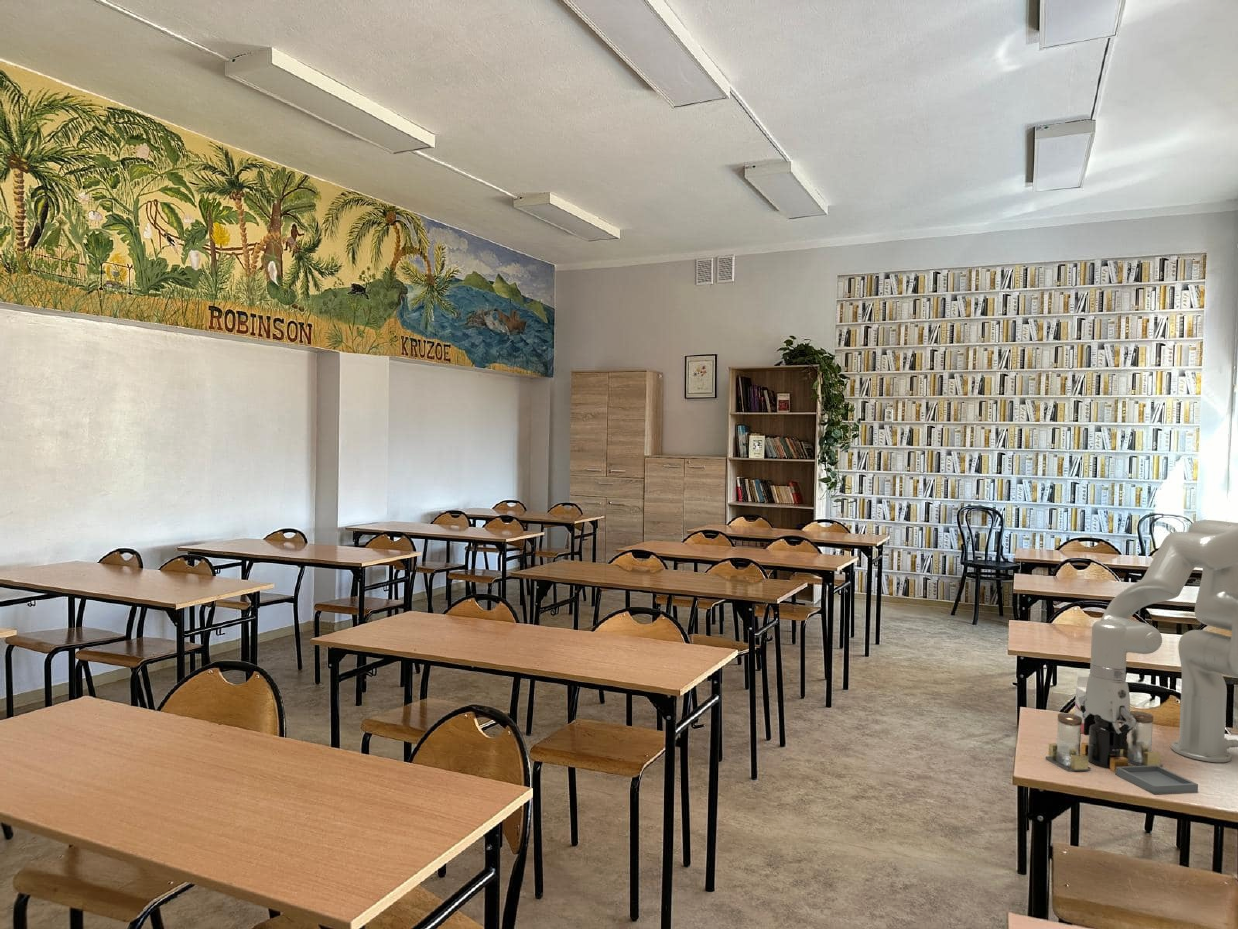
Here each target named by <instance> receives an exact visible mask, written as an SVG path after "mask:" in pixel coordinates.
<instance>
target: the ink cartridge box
mask: <svg viewBox="0 0 1238 929" xmlns="http://www.w3.org/2000/svg"><path fill="white" fill-rule="evenodd" d="M1088 677H1089V676H1084V675H1083V676H1082V675H1079V676H1077V681H1076V687H1075V699H1074V701H1075V702H1074V704H1075V705H1074V715H1077V716H1079V717H1081V718H1082V724H1081V734H1084V719H1085V718H1083V716H1082V714H1083V713H1082V711H1081V709H1080V703H1079V700H1078V698H1079V697H1082V696H1085V695H1086V687H1087V681H1088Z"/></svg>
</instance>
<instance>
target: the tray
mask: <svg viewBox="0 0 1238 929" xmlns="http://www.w3.org/2000/svg"><path fill="white" fill-rule="evenodd" d="M1114 774H1115V776H1118V777H1119V778H1122V779H1124V780H1125V781H1127V782H1130V783H1131V784H1132V785H1135V786H1137V787H1139V788H1141V789H1142V790H1145V791H1147V792H1148V793H1150V794H1152V795H1168V794H1169V795H1170V794H1187V793H1191V794H1192V793H1198V792H1199V791H1198V790H1199V784H1198V783H1196V782H1194V781H1192V780H1191V779H1190V780H1189V779H1188V778H1185V777H1183V776H1181V775H1179V774H1177V773H1175V772H1173V771H1171V770H1168V769H1167V768H1164V767H1160V766H1158V765H1147V766H1136V765H1129V766H1124V767H1116V768H1115V772H1114Z"/></svg>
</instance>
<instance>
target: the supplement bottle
mask: <svg viewBox="0 0 1238 929" xmlns="http://www.w3.org/2000/svg"><path fill="white" fill-rule="evenodd" d="M1116 720H1117V719H1116ZM1094 721H1095V723H1092V724H1091V725H1090V727H1089V735H1088V742H1087V743H1088V762H1089V763H1092V764H1094V765H1095V766H1099V767H1103V768H1108V769H1110V757H1120V749H1117V750H1116V749H1114V748H1113V740H1114V732H1116V730H1115V728H1114V726H1113V724H1112V723H1111V722H1108V721H1106V720H1104V719H1102V718H1101V716H1099V715H1097V714H1096V715H1095V718H1094Z"/></svg>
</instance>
